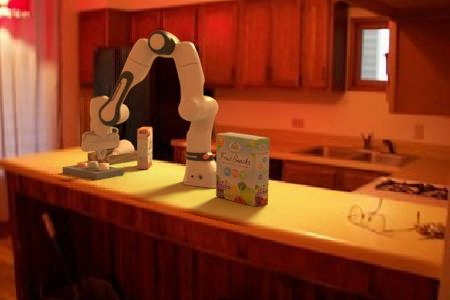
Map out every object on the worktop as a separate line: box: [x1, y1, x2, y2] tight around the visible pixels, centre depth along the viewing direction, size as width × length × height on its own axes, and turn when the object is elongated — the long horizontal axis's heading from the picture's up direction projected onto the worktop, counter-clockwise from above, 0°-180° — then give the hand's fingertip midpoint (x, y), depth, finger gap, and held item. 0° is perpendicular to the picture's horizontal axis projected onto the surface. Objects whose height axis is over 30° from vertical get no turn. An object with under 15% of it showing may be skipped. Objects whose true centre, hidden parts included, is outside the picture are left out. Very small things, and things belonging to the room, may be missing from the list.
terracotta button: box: [76, 161, 88, 168], centre depth 244 cm, size 5×5×4 cm
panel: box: [62, 164, 125, 181], centre depth 239 cm, size 26×16×3 cm, turn 53°
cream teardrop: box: [108, 139, 135, 156], centre depth 279 cm, size 12×12×18 cm
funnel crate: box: [87, 148, 137, 166], centre depth 279 cm, size 17×25×5 cm
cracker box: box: [136, 126, 153, 170], centre depth 259 cm, size 14×6×21 cm, turn 179°
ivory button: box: [98, 163, 110, 172], centre depth 234 cm, size 5×5×4 cm
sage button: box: [87, 161, 98, 169], centre depth 239 cm, size 5×5×4 cm
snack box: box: [215, 131, 271, 208], centre depth 191 cm, size 22×9×26 cm, turn 45°
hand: (101, 159), depth 235 cm, fingers closed
